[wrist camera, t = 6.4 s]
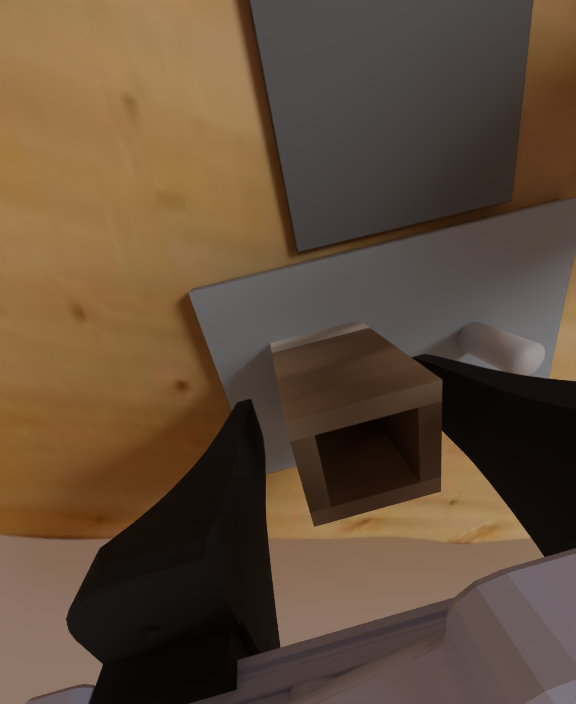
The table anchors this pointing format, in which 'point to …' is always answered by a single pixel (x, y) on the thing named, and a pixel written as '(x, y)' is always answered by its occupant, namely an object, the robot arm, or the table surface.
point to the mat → (391, 108)
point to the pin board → (401, 304)
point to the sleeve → (358, 420)
